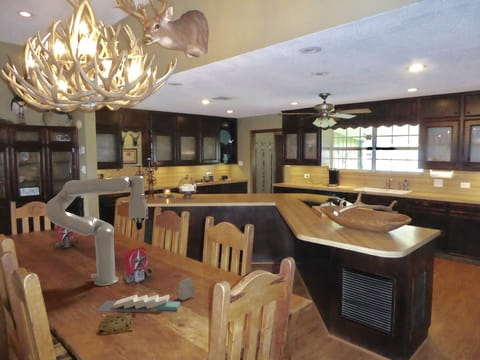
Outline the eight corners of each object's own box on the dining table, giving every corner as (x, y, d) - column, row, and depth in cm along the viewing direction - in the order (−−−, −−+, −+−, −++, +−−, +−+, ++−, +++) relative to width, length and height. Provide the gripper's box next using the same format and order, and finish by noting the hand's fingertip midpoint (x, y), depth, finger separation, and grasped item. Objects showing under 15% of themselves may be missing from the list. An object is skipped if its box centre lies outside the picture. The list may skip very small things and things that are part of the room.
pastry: (87, 329, 139) (87, 322, 139) (123, 312, 153) (122, 305, 153) (113, 342, 129) (112, 335, 129) (148, 322, 143) (148, 316, 143)
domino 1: (113, 305, 153) (132, 299, 152) (117, 300, 158) (136, 294, 157) (114, 308, 153) (134, 302, 153) (118, 303, 158) (137, 297, 158)
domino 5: (156, 306, 152) (177, 306, 151) (159, 301, 157) (180, 301, 156) (156, 309, 152) (177, 310, 152) (159, 304, 157) (180, 305, 157)
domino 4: (145, 305, 152) (165, 299, 151) (149, 300, 157) (168, 294, 156) (147, 309, 152) (166, 302, 152) (150, 304, 157) (169, 297, 156)
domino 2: (123, 305, 153) (143, 299, 152) (127, 300, 158) (147, 294, 157) (124, 308, 153) (144, 302, 152) (129, 303, 158) (148, 297, 157)
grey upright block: (194, 298, 166) (193, 278, 165) (182, 302, 161) (182, 282, 160) (190, 295, 169) (189, 276, 168) (178, 299, 164) (178, 280, 163)
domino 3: (134, 305, 153) (154, 299, 152) (138, 300, 158) (157, 294, 157) (136, 309, 153) (155, 302, 152) (139, 304, 158) (159, 297, 157)
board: (96, 312, 151) (96, 310, 151) (106, 302, 161) (106, 300, 161) (174, 314, 149) (174, 312, 149) (179, 304, 159) (179, 302, 159)
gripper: (122, 198, 185) (124, 230, 187) (147, 198, 183) (149, 230, 185) (128, 196, 193) (130, 227, 195) (152, 196, 191) (154, 227, 193)
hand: (139, 229), depth 190 cm, fingers closed
